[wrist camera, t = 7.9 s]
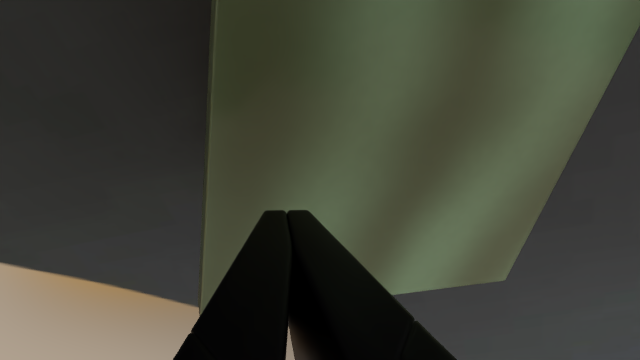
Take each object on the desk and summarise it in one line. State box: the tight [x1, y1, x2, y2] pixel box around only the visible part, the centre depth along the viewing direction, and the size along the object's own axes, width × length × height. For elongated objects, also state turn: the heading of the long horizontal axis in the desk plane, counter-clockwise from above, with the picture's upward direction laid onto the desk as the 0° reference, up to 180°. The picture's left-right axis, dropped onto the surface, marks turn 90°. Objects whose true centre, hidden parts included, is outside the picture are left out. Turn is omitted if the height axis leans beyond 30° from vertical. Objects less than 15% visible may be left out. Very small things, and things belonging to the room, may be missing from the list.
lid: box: [198, 0, 640, 315], centre depth 13 cm, size 12×13×1 cm
